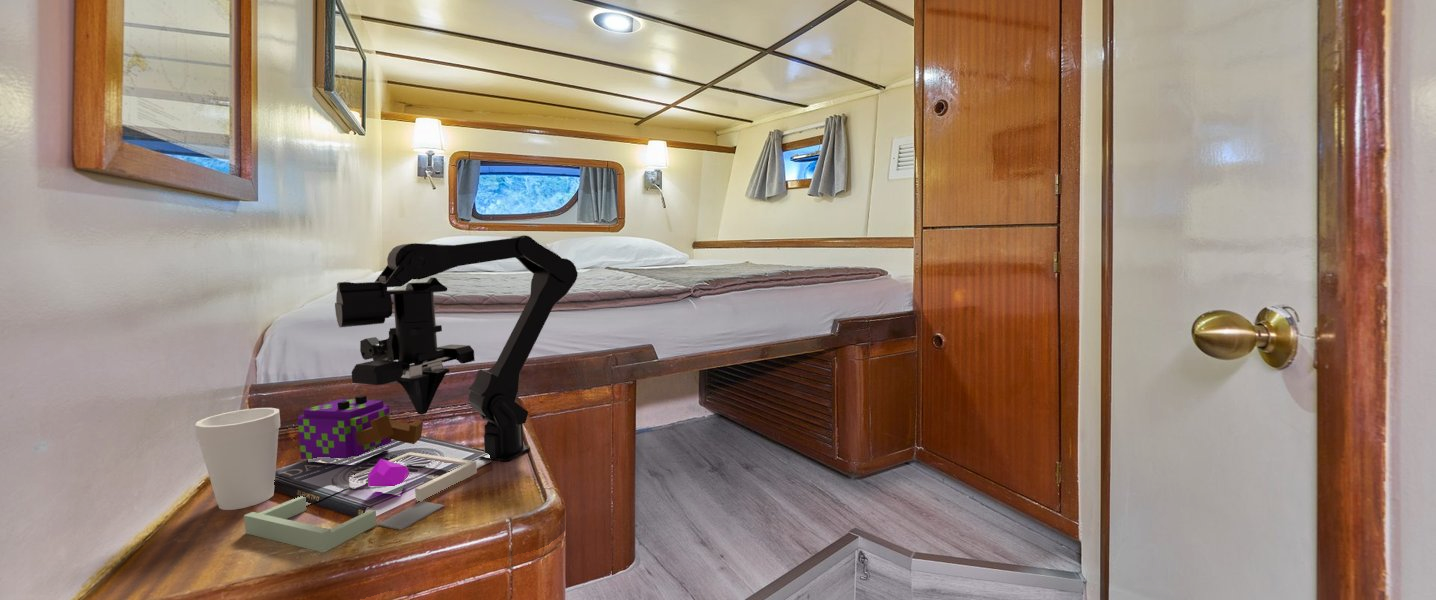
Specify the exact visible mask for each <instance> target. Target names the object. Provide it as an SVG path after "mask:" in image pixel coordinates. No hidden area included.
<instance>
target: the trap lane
mask: <svg viewBox="0 0 1436 600" xmlns="http://www.w3.org/2000/svg"><path fill="white" fill-rule="evenodd" d="M407 456H414V457H420V458H425V459H430V460H435V461H440V462H444V463H455V464H461V465H462V466H460V467H458V468H456V469H454V470H452V471H450V472H448V471H447V472H446V473H443V474H441V475H439V476H438V477H434V479H431V480H429V481H427V482H425V483H423V484H421V485H419V486H416V487H415V488H414V493H415V501H416V500H417V501H416V502H418V501H420V502H421V501H423V500H424V499H426V498H428V497H430V496H432V495H434V494H436V493H437V494H439V493H441V492H442V491H441V490H443V491H445V490H447V489H449V488H451V487H452V486H451V485H453V486H455V485H457V484H458V482H459V483H460V481H461V482H462V481H464V480H466V479H468V478H470V477H472V476H475V475H476V474H477V473H478V469H477V468H478V467H477V461H475V460H469V459H462V458H456V457H455V458H454V457H447V456H441V455H435V454H434V455H433V454H427V453H419V452H412V451H408V452H407V453H403V454H401V455H399V456H395V457H394V458H391V459H389V460H388V461H390V462H395V461H398V460H400V459H403V458H406V457H407ZM373 468H374V466H371V467H370V468H367V469H365V470H361V471H359V472H357V473H354V474H355V475H354V474H352V475H351V476H355V477H356V476H359V475H361V474H364V473H366V472H368V471H370V470H372V469H373ZM456 483H457V484H456ZM454 484H455V485H454ZM450 486H451V487H450ZM448 487H449V488H448ZM446 488H447V489H446ZM444 489H445V490H444ZM440 491H441V492H440ZM438 492H439V493H438ZM437 494H436V495H437ZM299 496H300V497H299ZM299 496H297V498H296V497H294V498H295V499H294V498H292V500H291V499H289V500H290V501H289V500H287V502H286V501H284V502H285V503H284V502H282V503H283V504H282V503H280V504H278V505H276V506H273V507H270V508H268V509H266V510H263V511H261V512H260V511H259V512H254V511H251V512H249V513H246V514H244V515H243V519H244V530H245V534H247V535H251V536H256V537H259V538H263V539H267V540H271V541H276V542H279V543H284V544H288V545H292V546H295V547H300V548H304V549H308V550H311V551H315V552H320V553H326V552H327V551H330V550H331V549H333V548H335V547H338V546H339V545H341V544H343V543H345V542H347V541H350V540H351V539H353V538H354V537H356V536H359V535H360V534H363V533H364V532H366V531H367V530H368V531H369V530H370V529H372V528H374V527H376V526H378V523H377V522H378V521H377V512H376V510H374V509H373V510H372V509H370V510H368V511H366V512H364V513H362V514H359V515H357V516H355V517H353V518H351V519H348V520H347V521H345V522H343V523H340V524H338V525H335V526H334V527H332V528H326V527H322V526H317V525H313V524H309V523H304V522H301V521H300V522H299V521H295V520H291V519H290V518H291V517H294V516H296V515H299V514H301V513H304V512H306V511H307V507H306V497H303V496H301V495H299ZM434 496H435V495H434ZM432 497H433V496H432ZM430 498H431V497H430ZM428 499H429V498H428ZM426 500H427V499H426ZM424 501H425V500H424Z"/></svg>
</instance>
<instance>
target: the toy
mask: <svg viewBox="0 0 1436 600" xmlns="http://www.w3.org/2000/svg"><path fill="white" fill-rule="evenodd" d="M390 415H391V413H390V405H389V404H385V403H384V400H374V399H372V400H371V399H369V400H368V399H367V395H358V396H355V399H349V398H347V399H346V398H338V399H335V400H332V401H329V402H326V403H322V404H319V405H316V406H312V407H308V408H305V409H303V414H301V415H299V416H298V415H297V416H298V418H297V429H298V443H299V453H300V459H301V460H302V459H303V460H308V459H313V458H317V457H330V458H348V457H351V456H359V455H361V454H363V453H365V452H368V451H370V450H372V449H374V448H377V447H379V446H382V445H385V444H388V443H390V442H392V440H393V441H398V442H401V443H406V444H411V445H415V444H416V443H418V441H419V440H420V439H421V438H422V433H423V427H424V420H421V419H415V420H414V421H412V423H408V422H403V421H397V420H395V419H394V420H393V419H391V416H390ZM392 443H393V442H392Z"/></svg>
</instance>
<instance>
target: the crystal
mask: <svg viewBox="0 0 1436 600" xmlns="http://www.w3.org/2000/svg"><path fill="white" fill-rule="evenodd" d="M373 467H374V468H373V469H372V470H371V472H370V473H369V474H368V484H367V485H369V486H395V485H397V484H400V483H402V482H403V481H404V480H405V479H406V478H407V477H408V475H409V474H410V475H411V472H410V470H409V469H408V467H406V466H403V465H400V464H397V463H393V462H390V461H389V460H387V459H383V458H379V460H378V461H377V462H376V463H375V465H374V466H373ZM410 475H409V476H410ZM369 486H368V487H369Z"/></svg>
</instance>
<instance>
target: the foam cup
mask: <svg viewBox="0 0 1436 600" xmlns="http://www.w3.org/2000/svg"><path fill="white" fill-rule="evenodd" d="M194 426H195V427H194V429H195V430H194V431H195V437H196V442H198V444H199V447H200V450H201V454H202V456H203V460H204V463H205V467H206V470H207V474H208V478H209V480H210V483H211V486H212V490H213V493H214V494H213V495H214V497H215V500H216V503H217V506H218V509H220V510H223V511H224V510H225V511H232V510H239V509H245V508H249V507H251V506H255V505H259V504H261V503H263V502H266V501H268V500H270V499H271V498H272V497H273V496H274V495H275V494H274V492H275V485H274V482H275V481H276V470H277V469H276V468H277V456H278V442H279V428H281V415H280V408H274V407H256V408H246V409H238V410H233V411H229V412H223V413H220V414H215V415H212V416H208V417H204V418H202V419H200V420H197V421H196V423H195V425H194ZM274 480H275V481H274ZM275 483H276V482H275Z"/></svg>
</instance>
